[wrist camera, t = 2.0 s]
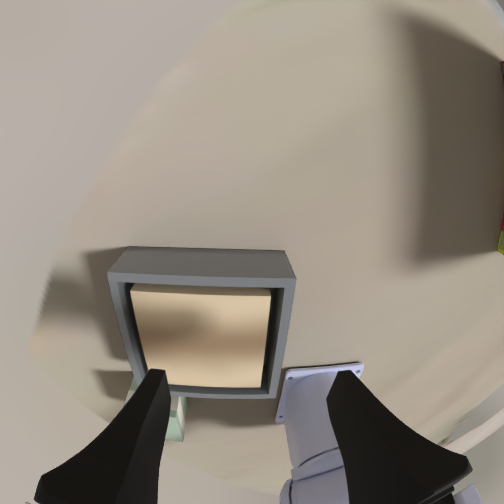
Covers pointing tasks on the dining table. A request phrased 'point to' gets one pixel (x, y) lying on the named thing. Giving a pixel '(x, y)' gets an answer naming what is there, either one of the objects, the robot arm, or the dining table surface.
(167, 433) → the green banded cube
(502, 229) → the snack box
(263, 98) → the dining table surface
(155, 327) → the tan wooden block
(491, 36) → the dining table surface
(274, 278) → the gray square tray
